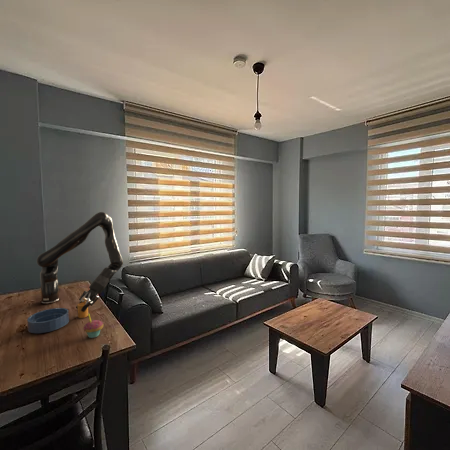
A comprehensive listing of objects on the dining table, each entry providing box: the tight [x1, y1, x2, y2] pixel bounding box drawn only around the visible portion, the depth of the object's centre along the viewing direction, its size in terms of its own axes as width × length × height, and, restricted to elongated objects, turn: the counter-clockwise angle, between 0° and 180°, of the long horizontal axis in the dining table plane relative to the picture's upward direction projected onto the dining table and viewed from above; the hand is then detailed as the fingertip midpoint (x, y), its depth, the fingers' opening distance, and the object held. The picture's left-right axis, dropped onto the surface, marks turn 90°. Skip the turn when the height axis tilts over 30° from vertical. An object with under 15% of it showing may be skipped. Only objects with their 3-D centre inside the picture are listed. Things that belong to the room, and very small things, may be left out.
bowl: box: [26, 307, 70, 334], centre depth 130 cm, size 18×18×6 cm
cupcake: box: [82, 312, 104, 339], centre depth 120 cm, size 9×8×12 cm
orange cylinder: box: [76, 301, 89, 319], centre depth 141 cm, size 5×5×8 cm
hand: (79, 309), depth 139 cm, fingers open, 5 cm apart
